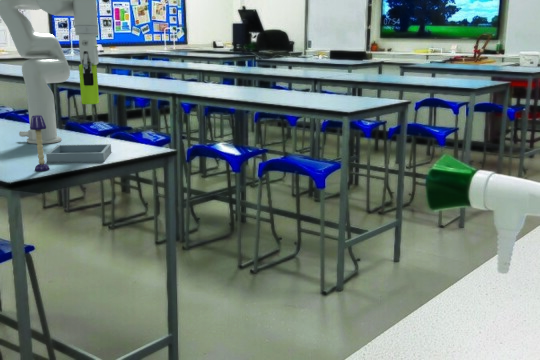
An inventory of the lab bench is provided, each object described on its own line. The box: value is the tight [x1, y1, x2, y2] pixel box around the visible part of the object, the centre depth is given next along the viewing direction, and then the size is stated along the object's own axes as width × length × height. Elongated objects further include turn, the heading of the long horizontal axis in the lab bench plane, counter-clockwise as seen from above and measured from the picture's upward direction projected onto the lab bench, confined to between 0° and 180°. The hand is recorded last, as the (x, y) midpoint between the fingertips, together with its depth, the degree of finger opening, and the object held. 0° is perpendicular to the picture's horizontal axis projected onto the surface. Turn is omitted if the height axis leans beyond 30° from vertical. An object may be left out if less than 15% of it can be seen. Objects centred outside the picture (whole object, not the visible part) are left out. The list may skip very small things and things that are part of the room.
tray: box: [45, 143, 112, 164], centre depth 202 cm, size 18×16×3 cm
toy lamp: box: [29, 115, 50, 172], centre depth 183 cm, size 5×5×17 cm
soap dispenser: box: [78, 44, 100, 105], centre depth 207 cm, size 6×7×20 cm
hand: (90, 84), depth 208 cm, fingers closed on soap dispenser, 6 cm apart
